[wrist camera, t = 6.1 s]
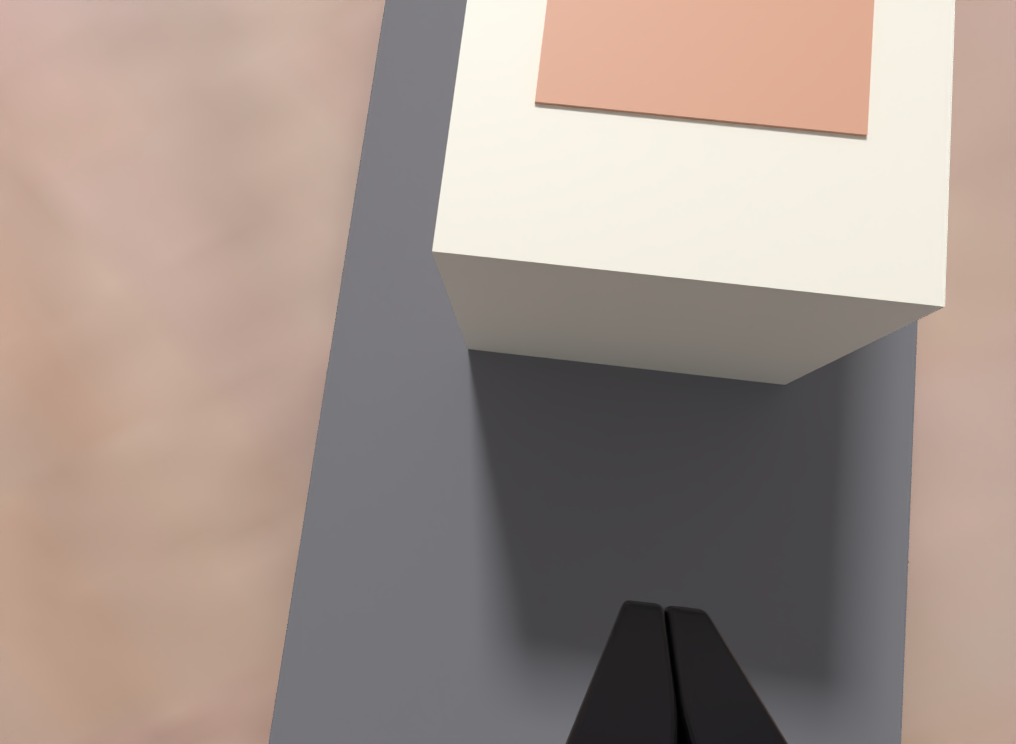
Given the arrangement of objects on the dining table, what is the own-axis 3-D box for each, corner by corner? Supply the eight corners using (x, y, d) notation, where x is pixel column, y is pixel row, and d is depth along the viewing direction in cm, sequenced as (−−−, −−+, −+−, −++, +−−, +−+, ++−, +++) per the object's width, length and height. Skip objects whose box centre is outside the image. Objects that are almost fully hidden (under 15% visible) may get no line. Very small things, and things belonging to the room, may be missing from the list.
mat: (880, 982, 14) (890, 995, 14) (251, 892, 15) (243, 903, 14) (921, -20, 17) (930, -32, 17) (401, -68, 18) (398, -81, 17)
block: (946, 305, 9) (969, -350, 11) (431, 250, 10) (519, -383, 11) (785, 384, 15) (813, -46, 17) (468, 348, 16) (522, -73, 17)
